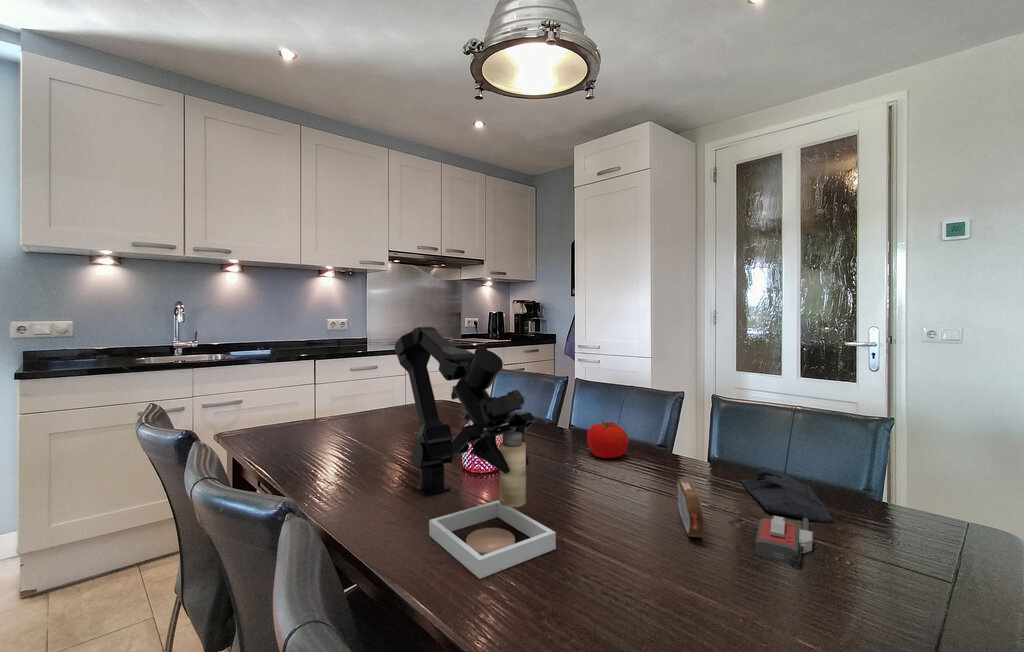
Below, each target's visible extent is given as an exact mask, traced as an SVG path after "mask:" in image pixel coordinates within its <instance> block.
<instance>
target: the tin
mask: <svg viewBox="0 0 1024 652" xmlns="http://www.w3.org/2000/svg"><path fill="white" fill-rule="evenodd" d="M676 487H677V494H678V495H677V496H678V497H677V505H678V511H679V515H680V519H681V522H682V525H683V528H684V531H685V533H686V535H687V537H689V538H701V539H702V538H703V539H704V537H705V536H704V534H705V522H704V513H703V506H702V501H701V497H700V494H699V492H698V490H697V488H696V486H695V484H694V481H693V479H692V478H691V477H689V478H678V479H677V480H676Z"/></svg>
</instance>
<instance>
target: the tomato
mask: <svg viewBox="0 0 1024 652" xmlns="http://www.w3.org/2000/svg"><path fill="white" fill-rule="evenodd" d="M629 441H630V439H629V437H628V434H627V432H626V430H625V429H623V428H622V427H621V426H620V425H618V424H617V423H616V422H611V421H603V419H601V423H596V424H593V425H592V426H591V427H589V429H588V431H587V434H586V443H587V447H588V449H589V450H590V452H591V453H592V454H593V455H594V456H595V457H596V458H601V459H614V458H615V459H616V458H620V457H621V456H623V455H624V454H625V453H626V452H627V449H628V448H629Z"/></svg>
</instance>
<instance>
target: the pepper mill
mask: <svg viewBox="0 0 1024 652" xmlns="http://www.w3.org/2000/svg"><path fill="white" fill-rule="evenodd" d="M502 436H503V438H502V442H500V443H499V450H500V452H501V453H502V455H503V457H504V459H505V461H506V463H507V465H508V467H509V469H510V472H509V473H507V474H505V473H504V472H502V471H501V470H499V482H498V483H499V484H498V485H499V489H498V490H499V491H498V492H499V493H498V494H499V498H498V500H499V502H500V504H501V505H503V506H507V507H512V508H519V507H522V506H524V505H525V504H526V501H527V500H526V497H527V495H526V493H527V487H526V485H527V484H526V483H527V482H526V481H527V479H526V478H527V475H526V474H527V470H526V469H527V466H526V453H527V444H526V443H525V441H524V442H522V433H520V432H505V433H503V435H502Z"/></svg>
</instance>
